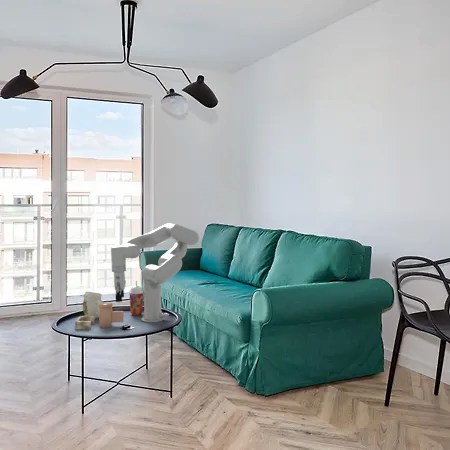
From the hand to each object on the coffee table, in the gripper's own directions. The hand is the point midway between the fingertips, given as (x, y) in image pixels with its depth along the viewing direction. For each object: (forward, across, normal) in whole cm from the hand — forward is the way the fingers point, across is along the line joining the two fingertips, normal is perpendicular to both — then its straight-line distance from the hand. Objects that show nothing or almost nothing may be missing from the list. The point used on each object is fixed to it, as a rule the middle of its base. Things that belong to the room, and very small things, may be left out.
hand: (120, 299), depth 275 cm
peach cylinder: (+14, -1, +5) cm, 15 cm away
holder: (+14, -1, +19) cm, 24 cm away
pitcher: (+14, +16, +18) cm, 28 cm away
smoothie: (+15, +22, -6) cm, 28 cm away
